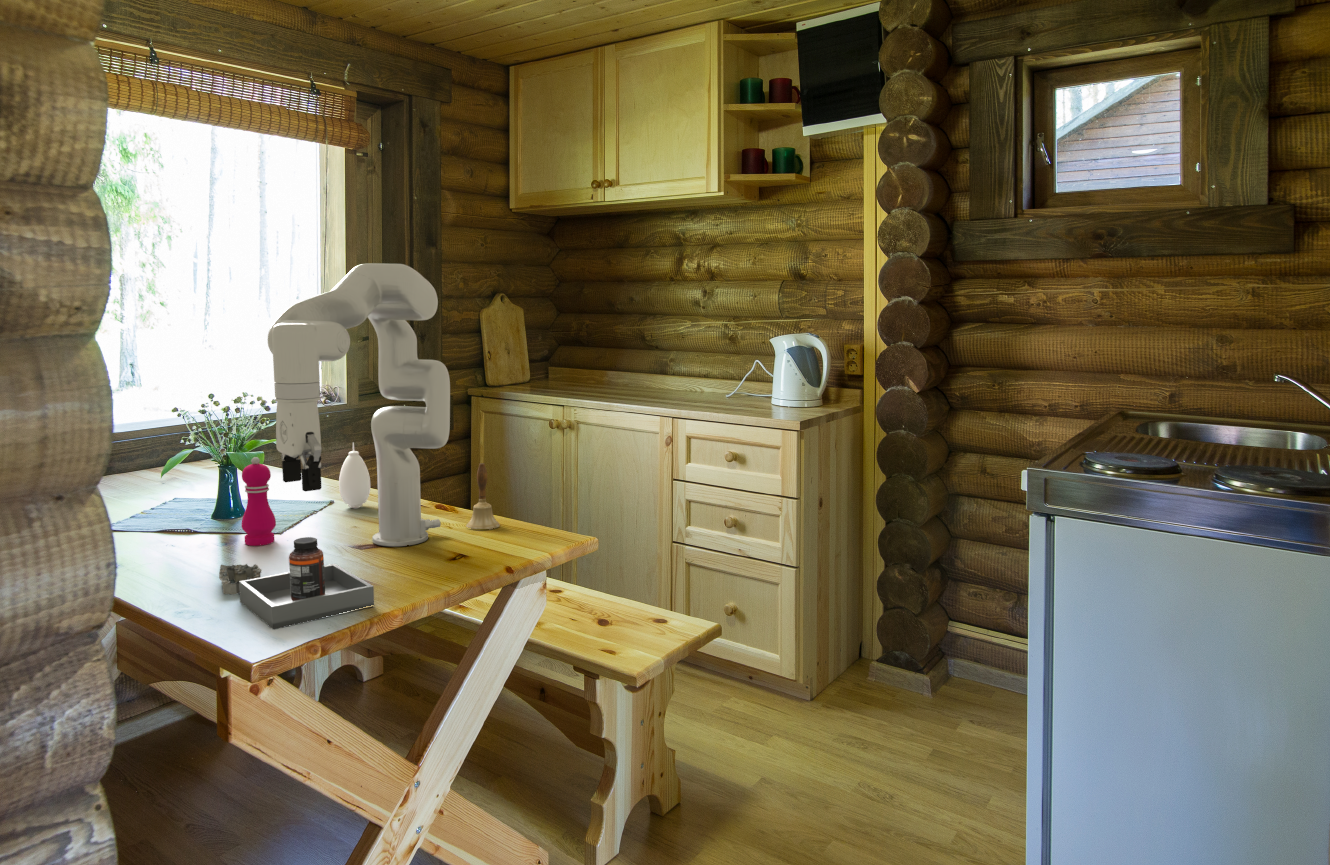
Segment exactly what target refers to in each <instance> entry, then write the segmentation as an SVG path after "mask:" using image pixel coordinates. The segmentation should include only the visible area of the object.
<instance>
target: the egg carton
mask: <svg viewBox="0 0 1330 865" xmlns="http://www.w3.org/2000/svg"><path fill="white" fill-rule="evenodd" d="M262 570H263V569H262V568H260V567H259V565H258V564H256V563H255V564H253V565H251V566H249V565H248V563H245V564H243V565H242V564H232V565H225V564H220V567H219V574H218V578H219V580H220V581H221V584H222V585H221V587H222V590H223V591H222V592H223V595H231V596H232V595H238V594H240V589H239V581H243V580H249V579H254V578H260V577H262V576H261V575H262V574H261V573H262ZM231 580H234V583H232V581H231Z"/></svg>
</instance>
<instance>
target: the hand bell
mask: <svg viewBox="0 0 1330 865" xmlns="http://www.w3.org/2000/svg"><path fill="white" fill-rule="evenodd" d="M487 482H488V472H487V467H486V464H485V463H484V462H483V463H482V462H481V463H479V464H478V469H477V473H476V483H477V486H478V502H477V503H476V504H474V505H473V507H472V508H473V510H472V515H471V518H470V520H469V521H468V522H467V524H466V525H465V527H468V528H471V529H470V530H472V529H489V530H494V529H497V528H500V525H501V524H500V522H498V521H497V520H496V518H495V516H494V513H493V508H492V506H493V505H491V504H490V503H488V502H487V496H486V487H487ZM468 528H467V529H468ZM493 528H494V529H493Z"/></svg>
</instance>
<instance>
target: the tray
mask: <svg viewBox="0 0 1330 865" xmlns="http://www.w3.org/2000/svg"><path fill="white" fill-rule="evenodd" d="M324 577H325V595H320V596H315V597H310V598H306V599H301V600H296V601H292V599H291V589H290V571H286V572H281V573H278V574H271V575H267V576H261V577H260V578H254V579H249V578H248V579H247V580H243V581H239V589H240V592H239V603H241V604H242V605H243V606H244V607H246V608H247V610H249V611H251V613H253V614H254V615H255V616H256V617H257V618H259V619H260V620H261V621H263V622H264V623H265V624H266V625H267V626H268V625H269V626H270V627H269V626H268V627H269V628H271V629H272V630H277V629H281V628H280V627H282V628H285V627H284V626H286V627H290V626H289V625H291V626H295V625H298V623H300V624H304V623H308V622H307V621H309V622H312V621H311V620H313V621H316V620H315V619H318V620H320V619H319V618H322V617H326V616H331V615H336V614H339V613H343V612H347V611H351V610H355V609H359V608H363V607H366V606H371V605H374V606H375V595H374V594H375V590H374V589H375V587H374V586H375V585H372V584H371V583H369V582H367V580H366V581H365V580H364V579H362V578H361V577H359V576H357V575H355V574H354V573H352V572H350V571H349V570H347V569H346V568H344V567H342V566H341V565H338V564H337V563H331V564H326V565H325V564H324ZM336 616H337V615H336ZM331 617H332V616H331ZM322 619H323V618H322ZM303 622H304V623H303ZM294 624H295V625H294Z"/></svg>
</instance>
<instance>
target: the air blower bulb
mask: <svg viewBox="0 0 1330 865" xmlns="http://www.w3.org/2000/svg"><path fill="white" fill-rule="evenodd" d="M347 454H348V455H347V457H346V458H345V459H344V461H343V462H342V463H343V464H342V465H341V469H340V472H339V478H338V491H339V494H340V497H341V500H342V501H343V503H344V504H345V505H348V507H350V508H352V509H359V508H360V507H362V506H363V504H366V502H367V501H368V499H369V496H370V493H371V478H370V473H369V470H368V467H367V465H366V463H365V461H364V459H363V458H362V456H361V455H360V452H359V451H357V450H355V442H354V441H353V442H352V450H351V451H349V452H348V453H347Z"/></svg>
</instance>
